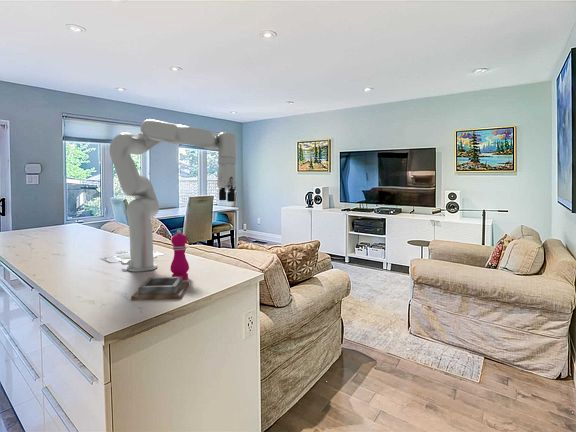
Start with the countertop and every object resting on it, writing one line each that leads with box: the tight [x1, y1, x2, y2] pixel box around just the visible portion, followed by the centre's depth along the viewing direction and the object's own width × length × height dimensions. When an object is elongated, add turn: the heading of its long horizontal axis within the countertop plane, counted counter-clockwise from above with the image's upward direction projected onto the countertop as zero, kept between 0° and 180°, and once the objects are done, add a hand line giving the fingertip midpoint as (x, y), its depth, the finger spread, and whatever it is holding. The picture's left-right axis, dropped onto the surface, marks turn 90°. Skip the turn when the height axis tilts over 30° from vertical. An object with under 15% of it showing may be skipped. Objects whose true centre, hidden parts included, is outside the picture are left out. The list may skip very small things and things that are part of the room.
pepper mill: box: [170, 229, 190, 281], centre depth 141 cm, size 7×7×20 cm
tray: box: [114, 250, 166, 261], centre depth 182 cm, size 20×28×4 cm
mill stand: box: [130, 276, 190, 301], centre depth 125 cm, size 16×16×4 cm
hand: (226, 200), depth 154 cm, fingers open, 9 cm apart
